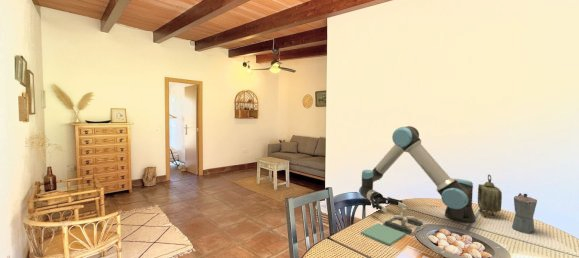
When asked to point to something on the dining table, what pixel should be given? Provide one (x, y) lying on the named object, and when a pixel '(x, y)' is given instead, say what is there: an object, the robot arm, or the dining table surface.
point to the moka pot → (524, 213)
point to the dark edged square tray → (402, 228)
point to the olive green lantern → (489, 197)
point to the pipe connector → (404, 217)
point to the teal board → (383, 234)
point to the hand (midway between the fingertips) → (396, 209)
